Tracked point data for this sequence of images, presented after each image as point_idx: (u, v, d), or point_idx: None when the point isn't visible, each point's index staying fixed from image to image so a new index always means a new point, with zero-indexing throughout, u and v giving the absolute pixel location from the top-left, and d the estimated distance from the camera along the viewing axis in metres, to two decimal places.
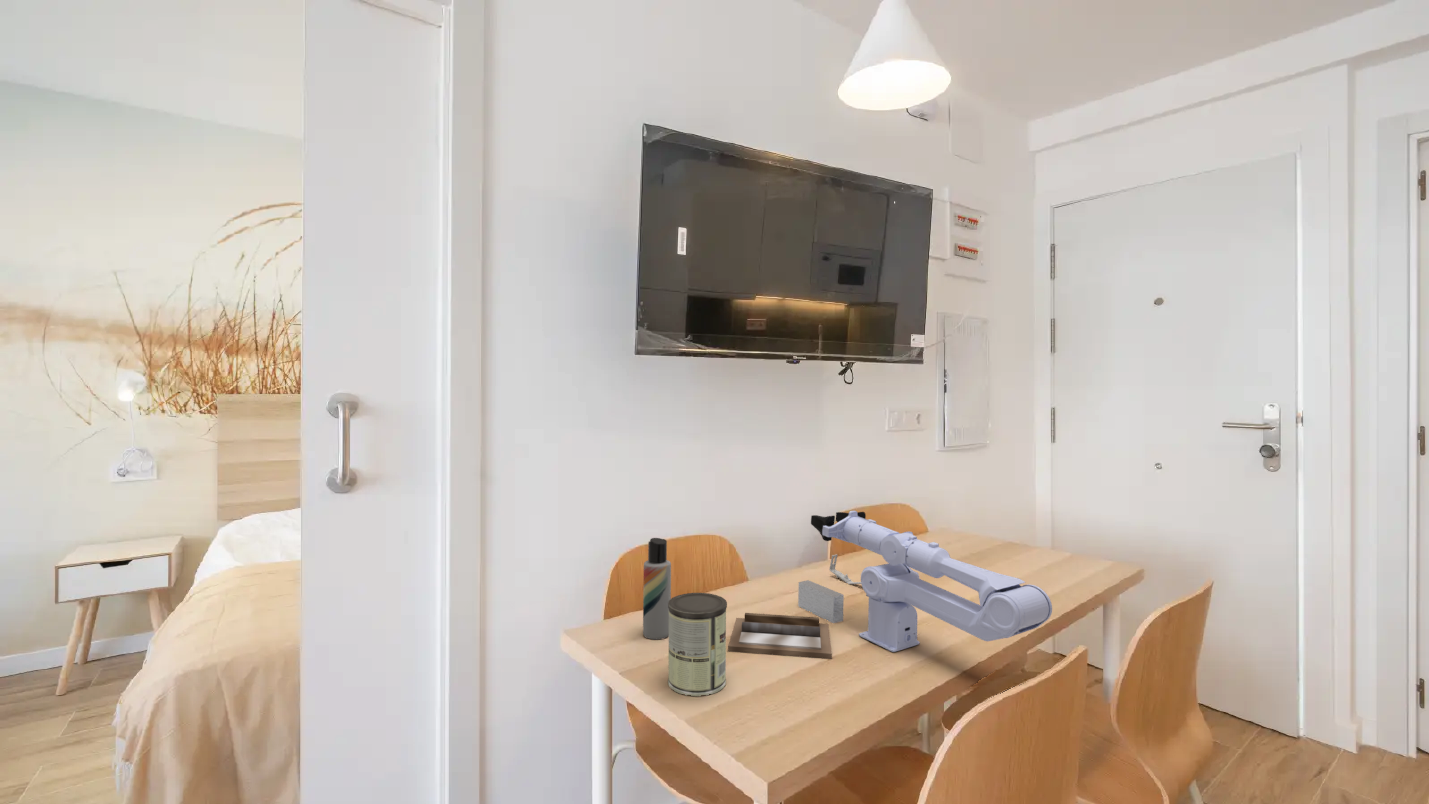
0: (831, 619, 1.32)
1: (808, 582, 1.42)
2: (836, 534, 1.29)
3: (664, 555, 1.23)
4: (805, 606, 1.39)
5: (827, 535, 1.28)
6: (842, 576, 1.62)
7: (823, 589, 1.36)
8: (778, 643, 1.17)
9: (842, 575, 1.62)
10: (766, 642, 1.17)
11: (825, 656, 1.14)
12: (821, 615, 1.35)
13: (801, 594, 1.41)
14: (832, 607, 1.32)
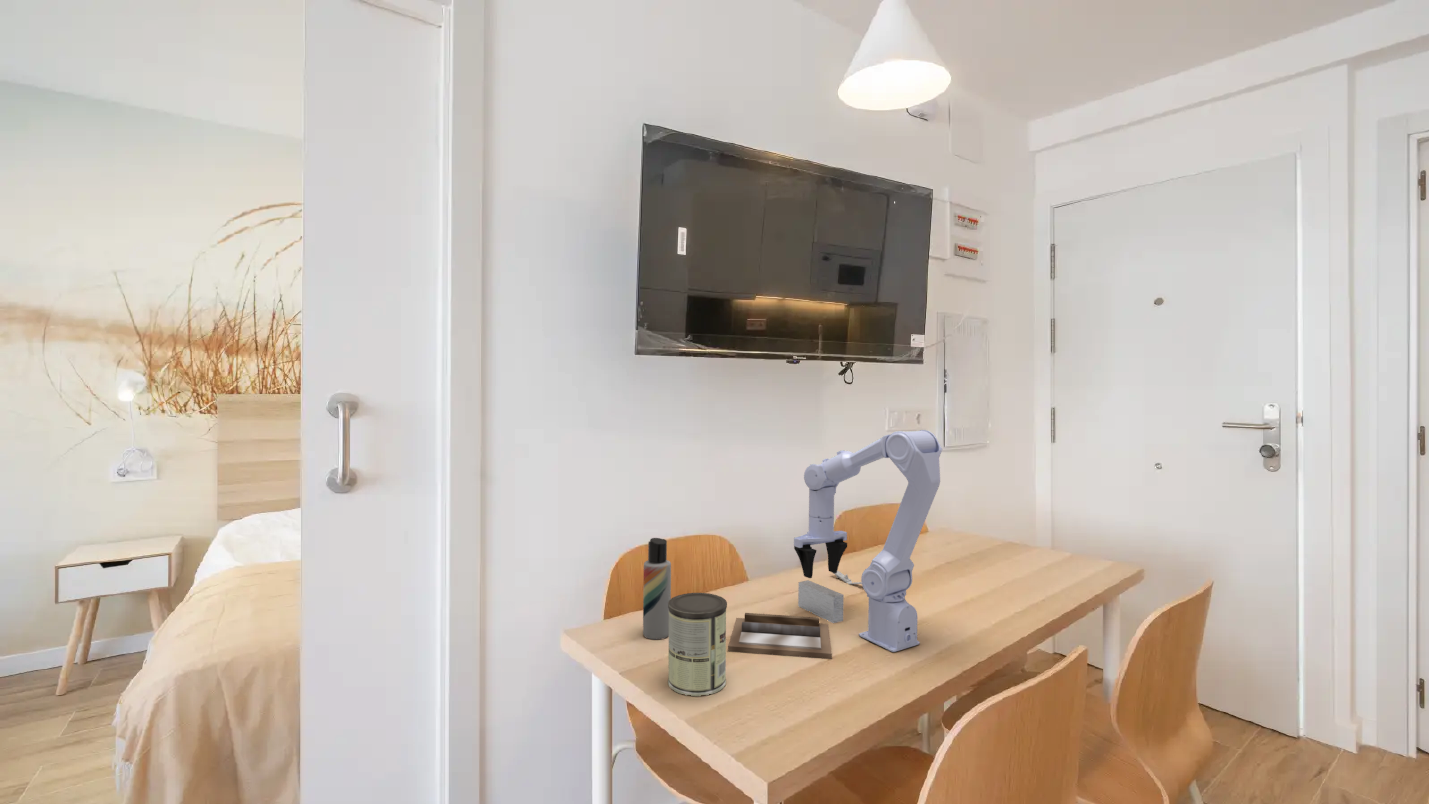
0: (831, 619, 1.32)
1: (808, 582, 1.42)
2: (807, 539, 1.34)
3: (664, 555, 1.23)
4: (805, 606, 1.39)
5: (798, 540, 1.33)
6: (842, 576, 1.62)
7: (823, 589, 1.36)
8: (778, 643, 1.17)
9: (842, 575, 1.62)
10: (766, 642, 1.17)
11: (825, 656, 1.14)
12: (821, 615, 1.35)
13: (801, 594, 1.41)
14: (832, 607, 1.32)
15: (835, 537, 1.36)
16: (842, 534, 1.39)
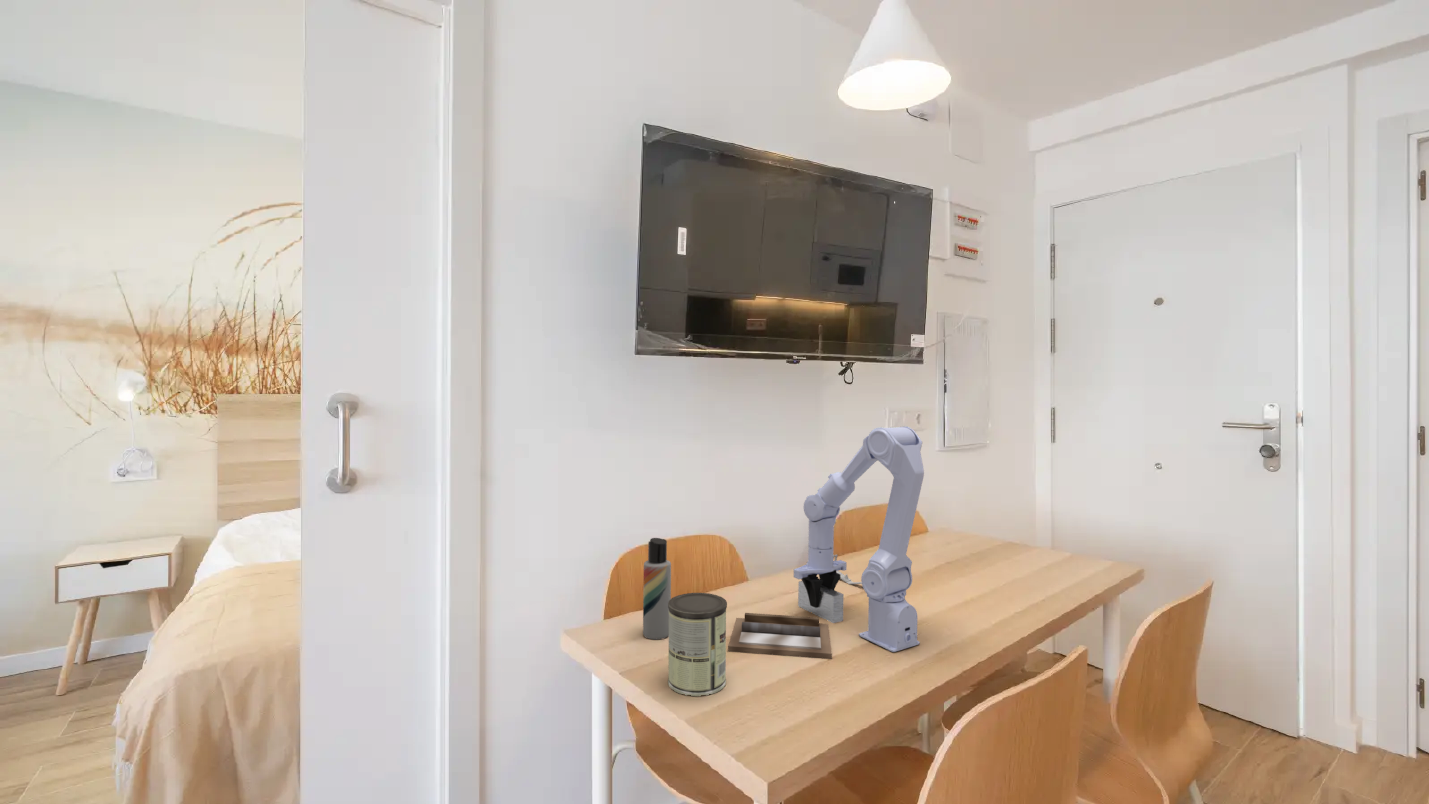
0: (831, 618, 1.32)
1: None
2: (806, 570, 1.34)
3: (664, 555, 1.23)
4: (805, 606, 1.39)
5: (798, 571, 1.33)
6: (842, 576, 1.62)
7: (823, 588, 1.36)
8: (778, 643, 1.17)
9: (842, 575, 1.62)
10: (766, 642, 1.17)
11: (825, 656, 1.14)
12: (821, 614, 1.35)
13: (801, 594, 1.41)
14: (832, 606, 1.32)
15: (835, 568, 1.36)
16: (842, 564, 1.39)
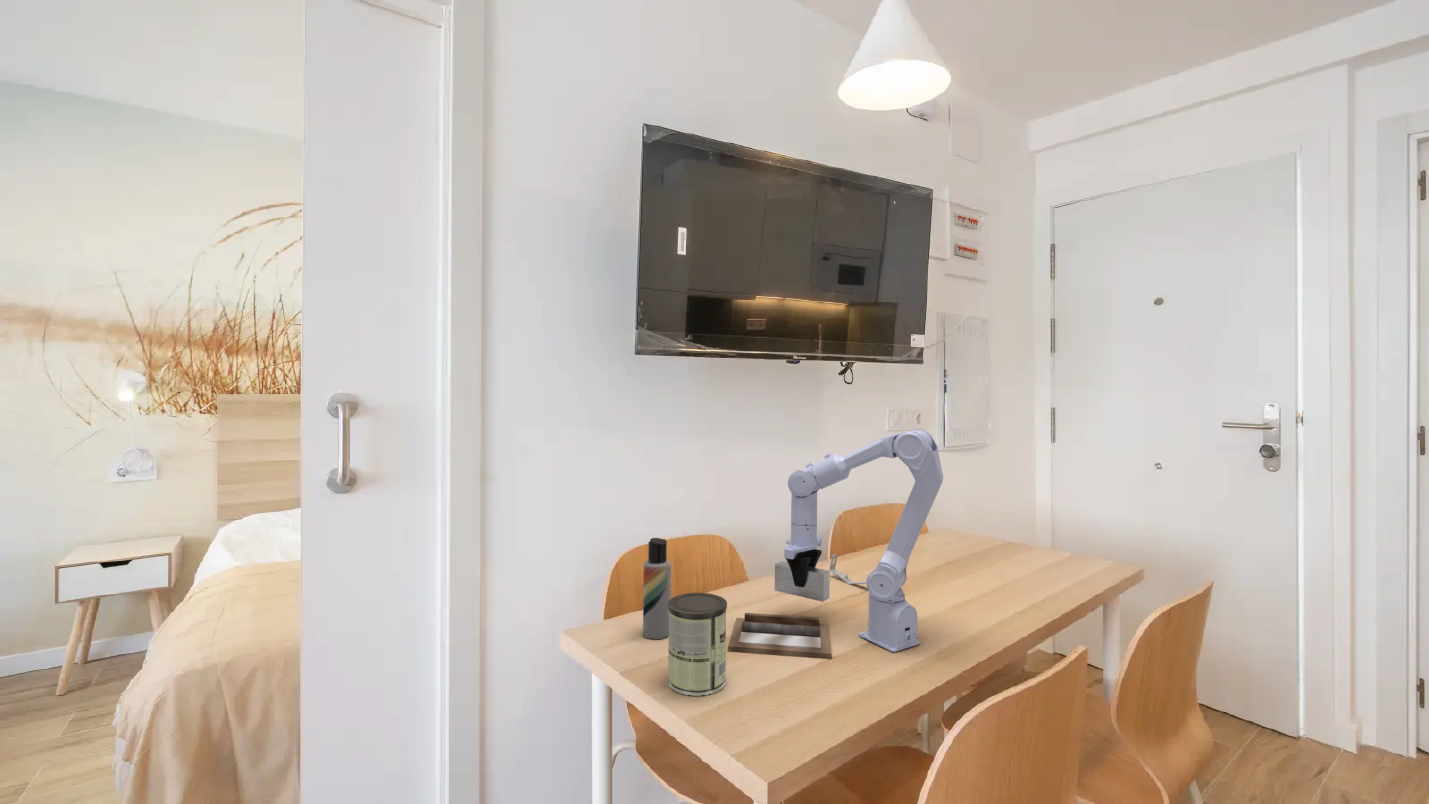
0: (821, 597, 1.28)
1: (783, 563, 1.35)
2: (796, 549, 1.27)
3: (664, 555, 1.23)
4: (785, 588, 1.33)
5: (791, 551, 1.25)
6: (842, 576, 1.62)
7: None
8: (778, 643, 1.17)
9: (842, 575, 1.62)
10: (766, 642, 1.17)
11: (825, 656, 1.14)
12: (807, 595, 1.30)
13: (779, 577, 1.34)
14: (821, 584, 1.27)
15: (818, 544, 1.32)
16: (819, 540, 1.35)
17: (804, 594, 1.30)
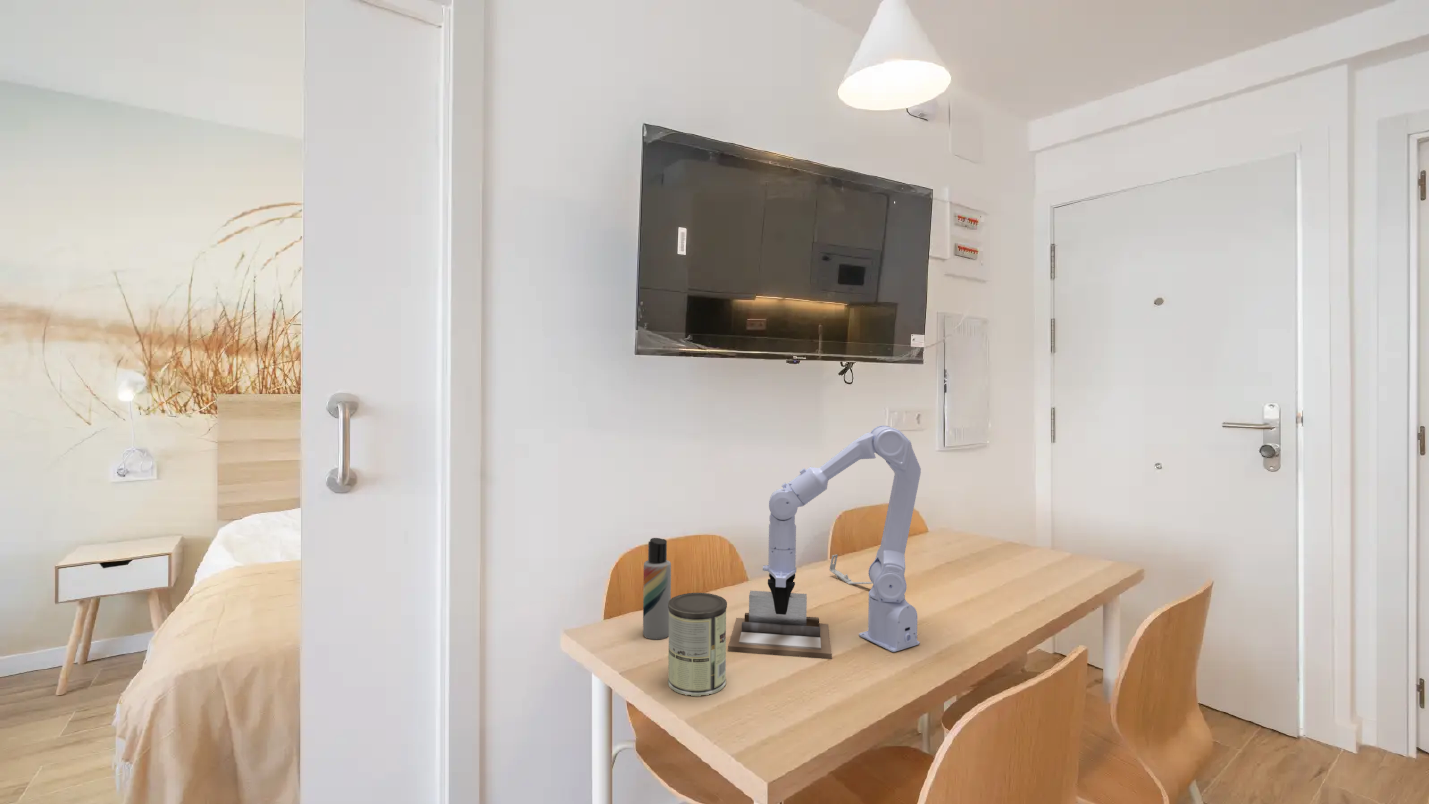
0: (803, 623, 1.23)
1: (755, 592, 1.27)
2: (784, 575, 1.21)
3: (664, 555, 1.23)
4: (761, 620, 1.25)
5: (783, 579, 1.18)
6: (842, 576, 1.62)
7: None
8: (778, 643, 1.17)
9: (842, 575, 1.62)
10: (766, 642, 1.17)
11: (825, 656, 1.14)
12: (787, 623, 1.24)
13: (754, 608, 1.25)
14: (804, 609, 1.23)
15: None
16: None
17: (784, 622, 1.24)
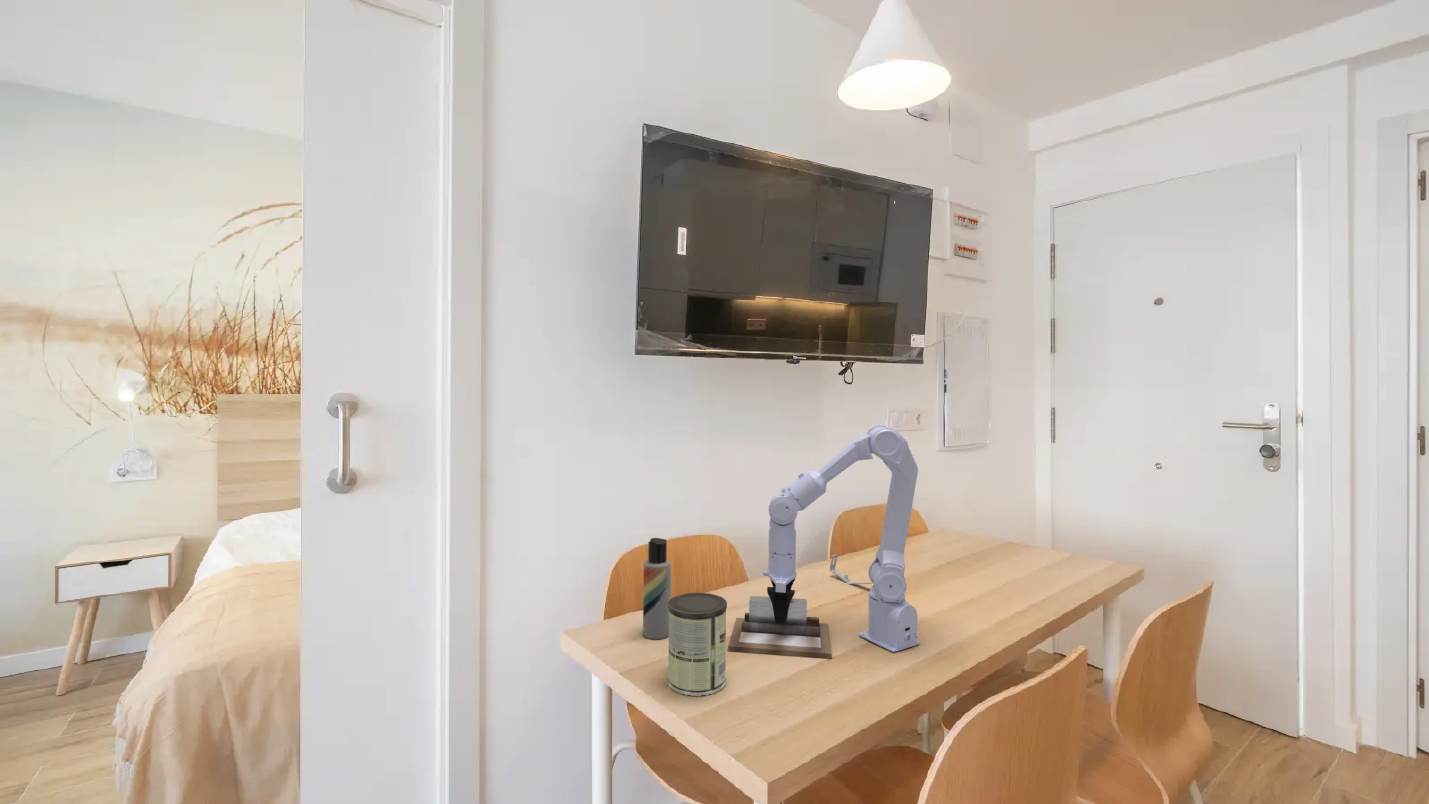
0: None
1: (755, 597, 1.27)
2: (784, 580, 1.21)
3: (664, 555, 1.23)
4: None
5: (783, 584, 1.18)
6: (842, 576, 1.62)
7: None
8: (778, 643, 1.17)
9: (842, 575, 1.62)
10: (766, 642, 1.17)
11: (825, 656, 1.14)
12: None
13: (754, 613, 1.25)
14: (804, 615, 1.23)
15: None
16: None
17: None
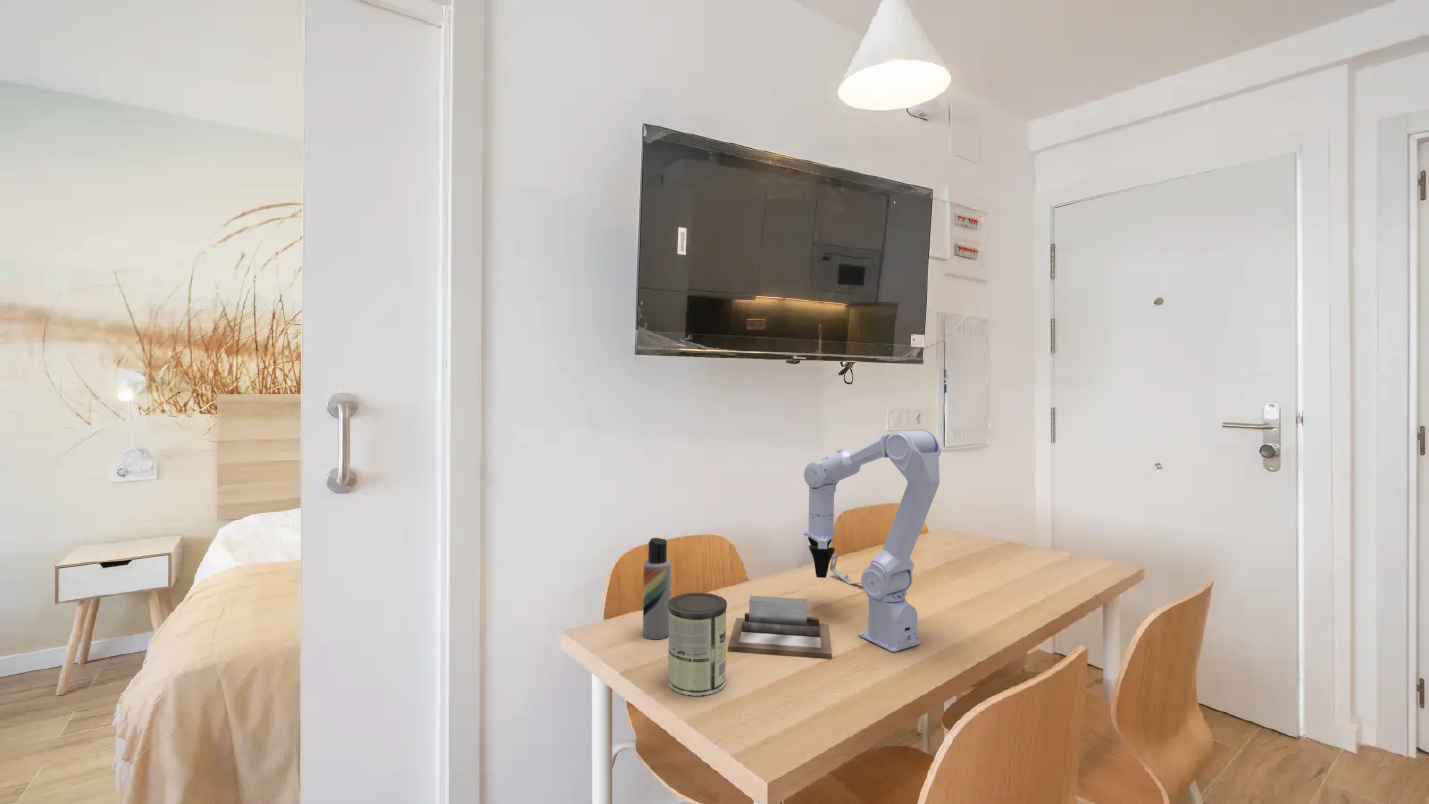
0: None
1: (755, 597, 1.27)
2: (825, 538, 1.32)
3: (664, 555, 1.23)
4: None
5: (825, 541, 1.30)
6: (842, 576, 1.62)
7: (782, 600, 1.25)
8: (778, 643, 1.17)
9: (842, 575, 1.62)
10: (766, 642, 1.17)
11: (825, 656, 1.14)
12: None
13: (754, 613, 1.25)
14: (804, 615, 1.23)
15: None
16: None
17: None
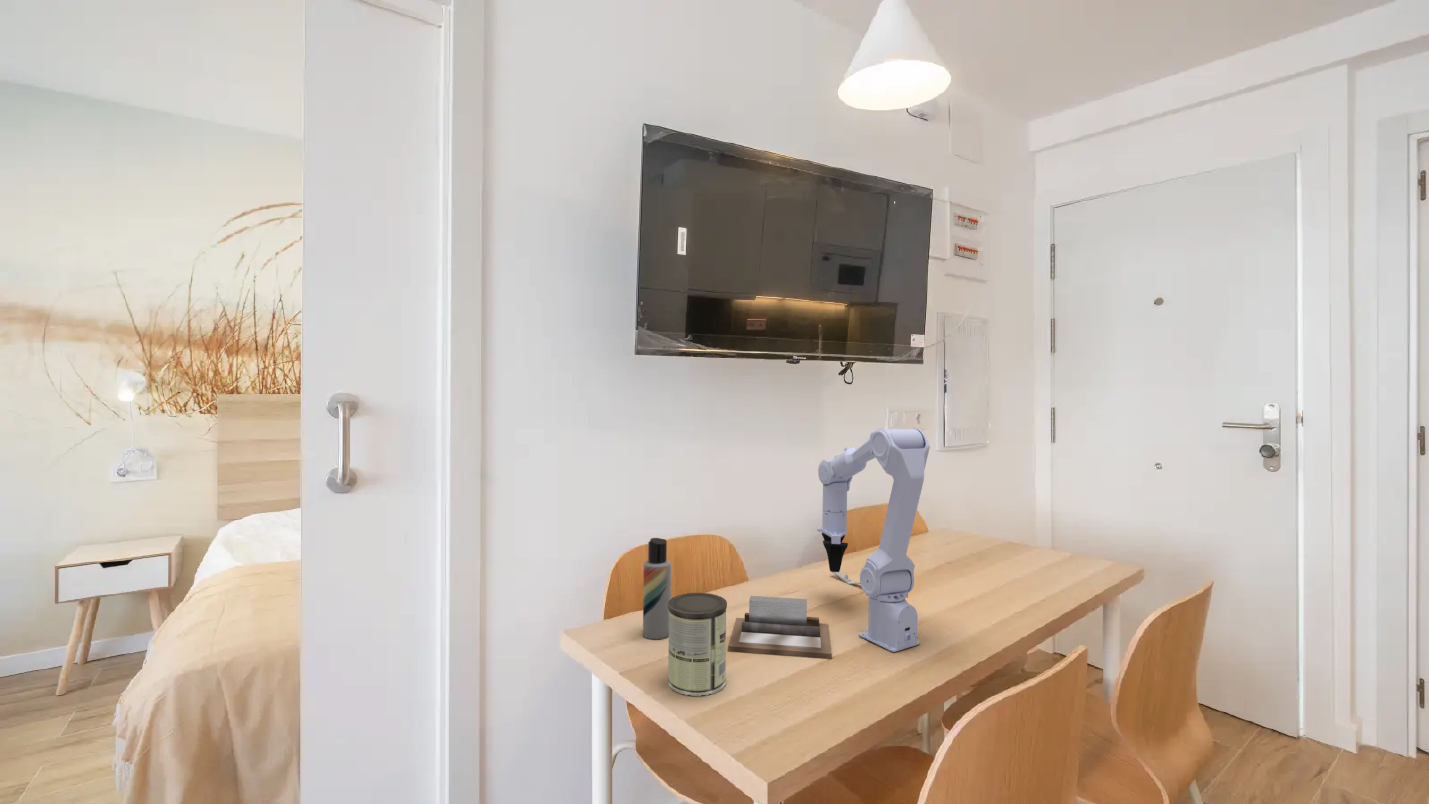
0: None
1: (755, 597, 1.27)
2: (838, 534, 1.37)
3: (664, 555, 1.23)
4: None
5: (839, 536, 1.35)
6: (842, 576, 1.62)
7: (782, 600, 1.25)
8: (778, 643, 1.17)
9: (842, 575, 1.62)
10: (766, 642, 1.17)
11: (825, 656, 1.14)
12: None
13: (754, 613, 1.25)
14: (804, 615, 1.23)
15: None
16: None
17: None
